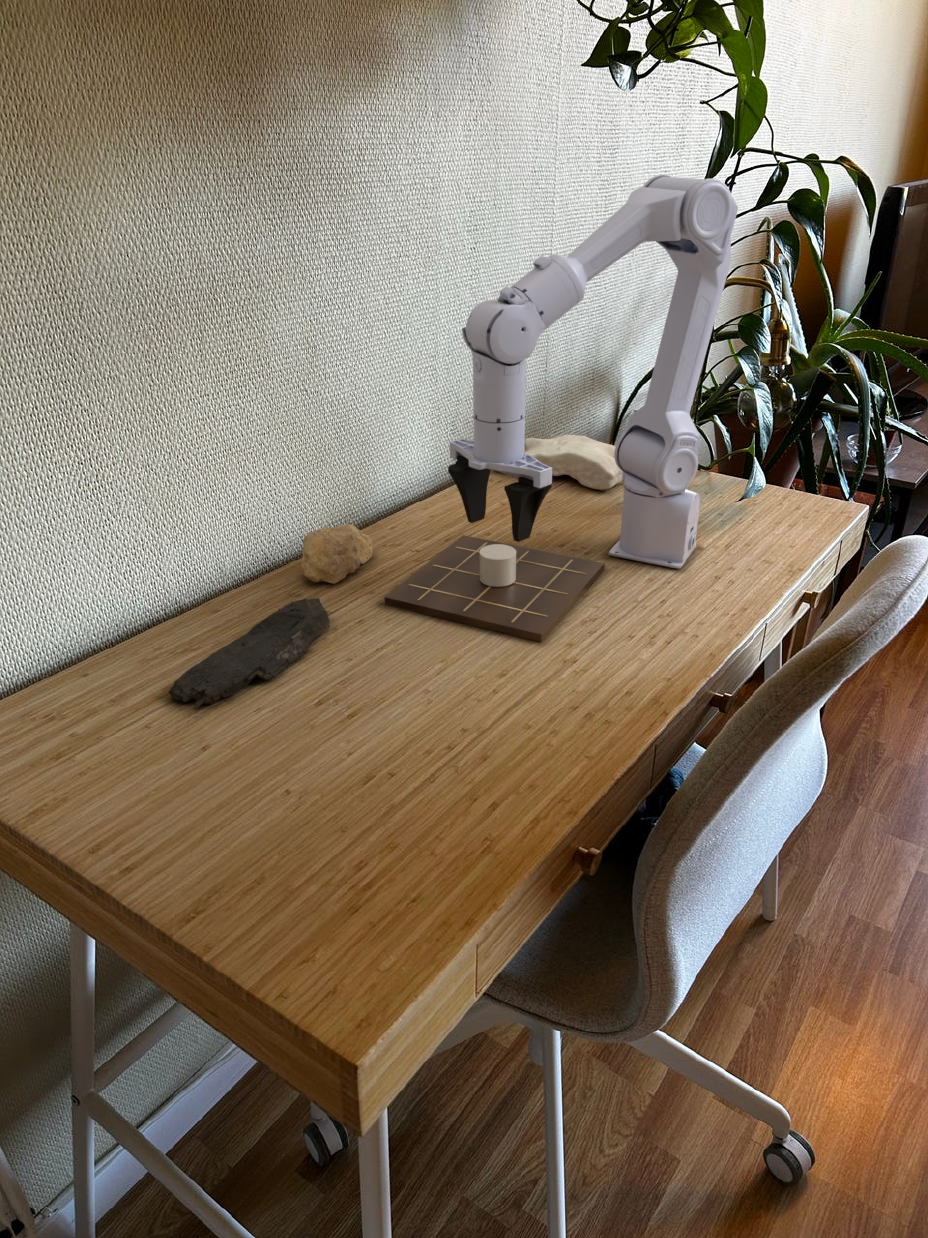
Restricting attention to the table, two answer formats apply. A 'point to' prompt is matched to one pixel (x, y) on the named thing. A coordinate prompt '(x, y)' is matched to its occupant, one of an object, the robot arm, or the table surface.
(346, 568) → the stone tool
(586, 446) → the decorative stone
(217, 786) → the table surface
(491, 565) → the cream short cylinder
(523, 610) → the board
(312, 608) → the wood
